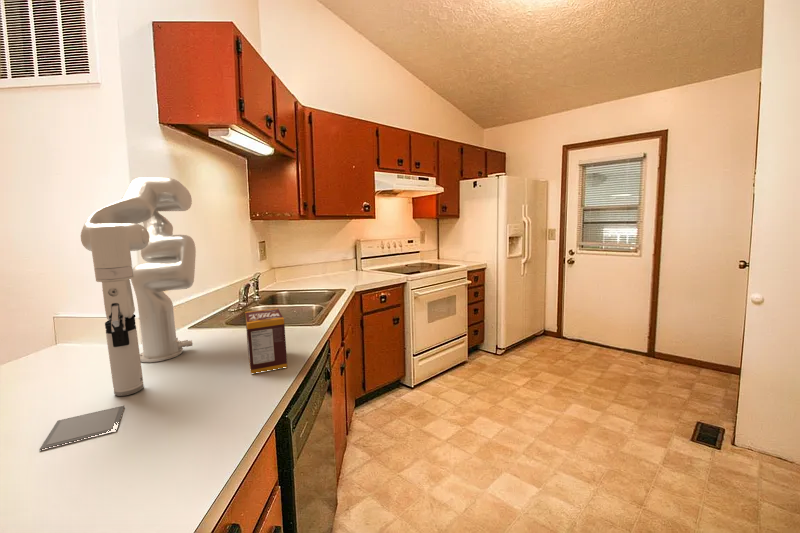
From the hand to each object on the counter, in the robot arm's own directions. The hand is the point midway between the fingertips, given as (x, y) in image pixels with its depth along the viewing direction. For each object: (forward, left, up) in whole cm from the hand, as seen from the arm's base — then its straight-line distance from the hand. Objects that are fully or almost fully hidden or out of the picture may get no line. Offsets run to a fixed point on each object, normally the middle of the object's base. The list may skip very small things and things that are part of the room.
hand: (123, 341), depth 92 cm
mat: (+6, +15, -14) cm, 22 cm away
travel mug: (0, 0, -14) cm, 14 cm away
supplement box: (-35, 0, -14) cm, 38 cm away
